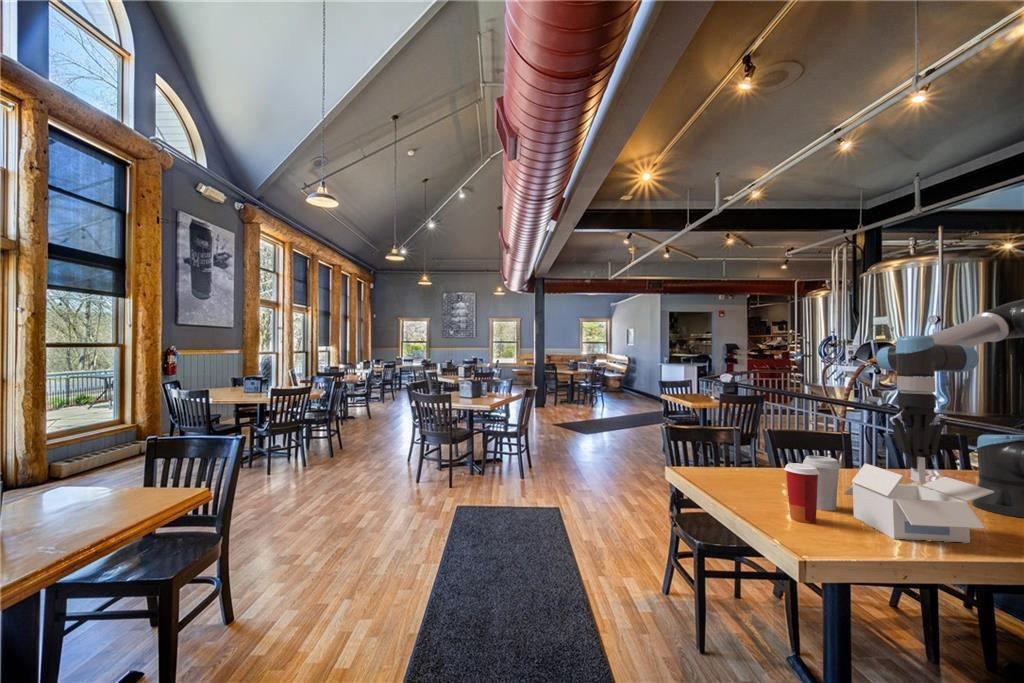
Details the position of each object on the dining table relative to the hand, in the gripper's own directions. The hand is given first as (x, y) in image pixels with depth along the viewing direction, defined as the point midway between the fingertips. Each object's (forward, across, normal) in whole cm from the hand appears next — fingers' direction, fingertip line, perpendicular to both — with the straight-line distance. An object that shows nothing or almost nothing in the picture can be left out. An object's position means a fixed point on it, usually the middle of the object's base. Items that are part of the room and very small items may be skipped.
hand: (918, 480), depth 113 cm
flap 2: (+1, -9, 0) cm, 9 cm away
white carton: (+13, +3, 0) cm, 13 cm away
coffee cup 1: (+14, +27, -4) cm, 30 cm away
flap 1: (0, +10, 0) cm, 10 cm away
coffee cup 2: (+14, +15, -16) cm, 26 cm away
